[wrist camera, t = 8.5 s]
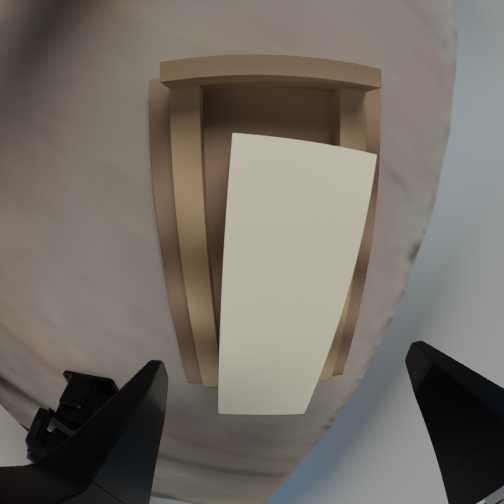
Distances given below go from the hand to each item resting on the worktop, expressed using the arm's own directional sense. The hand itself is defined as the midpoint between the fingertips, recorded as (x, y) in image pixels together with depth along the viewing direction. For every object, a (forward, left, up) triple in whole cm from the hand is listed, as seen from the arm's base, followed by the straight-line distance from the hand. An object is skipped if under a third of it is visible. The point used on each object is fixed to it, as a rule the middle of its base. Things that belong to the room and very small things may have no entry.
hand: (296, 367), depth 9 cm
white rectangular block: (0, 0, -9) cm, 9 cm away
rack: (0, 0, -10) cm, 10 cm away
